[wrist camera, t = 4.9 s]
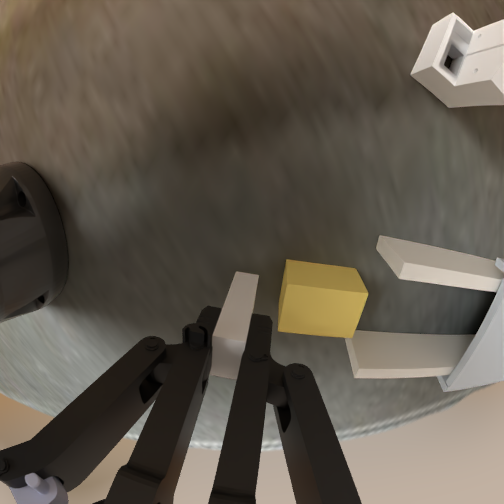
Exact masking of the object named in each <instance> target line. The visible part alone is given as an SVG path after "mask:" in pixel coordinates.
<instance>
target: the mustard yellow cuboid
mask: <svg viewBox="0 0 504 504" xmlns="http://www.w3.org/2000/svg"><path fill="white" fill-rule="evenodd" d="M368 294H369V293H368V291H367V289H366V287H365V285H364V283H363V281H362V279H361V277H360V275H359V273H358V272H357V270H356V268H349V267H341V266H334V265H326V264H318V263H311V262H303V261H296V260H288V259H286V264H285V270H284V276H283V282H282V287H281V293H280V299H279V312H278V331H280V332H288V333H298V334H307V335H318V336H330V337H343V338H352V337H353V335H354V332H355V330H356V327H357V324H358V322H359V319H360V316H361V314H362V311H363V308H364V305H365V302H366V300H367V297H368Z"/></svg>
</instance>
